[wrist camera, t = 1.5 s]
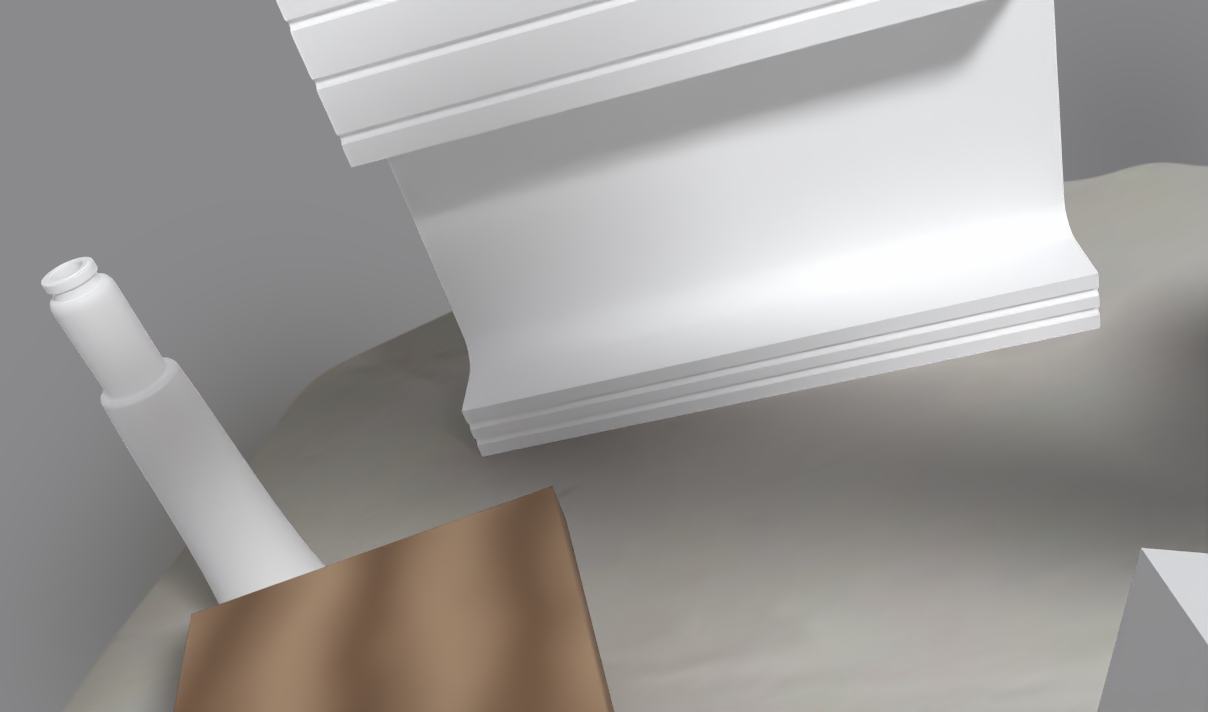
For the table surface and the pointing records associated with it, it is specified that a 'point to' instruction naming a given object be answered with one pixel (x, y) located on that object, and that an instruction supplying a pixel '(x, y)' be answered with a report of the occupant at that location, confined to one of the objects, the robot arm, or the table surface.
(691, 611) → the table surface
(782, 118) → the white grooved extrusion
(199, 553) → the cosmetic bottle
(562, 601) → the footstool
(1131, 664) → the robot arm
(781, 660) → the table surface
